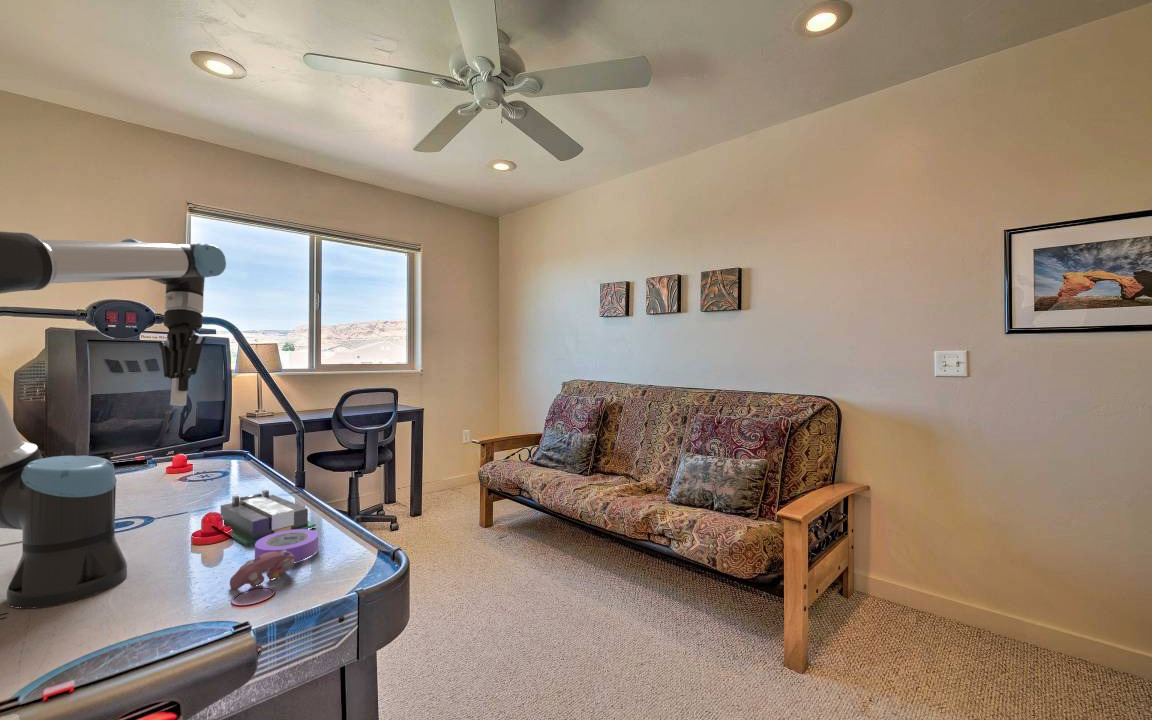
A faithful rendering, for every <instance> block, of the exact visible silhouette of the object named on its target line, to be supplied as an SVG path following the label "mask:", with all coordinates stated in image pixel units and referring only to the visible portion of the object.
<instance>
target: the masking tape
mask: <svg viewBox="0 0 1152 720" xmlns="http://www.w3.org/2000/svg"><path fill="white" fill-rule="evenodd" d="M283 549H285V550H286V551H288V552H290V553H292V554H293V555H294V557H295V562H297V561H300V560H303V559H305V558H307V557H309V556H311V555H313V554H314V553H315V552H316V551H317V550H318V551H319V533H318V532H317V531H316V530H314V529H311V530H308V529H295V530H287V531H281V532H277V533H273V534H270V535H267V536H265V537H263V538H261V539H259V540H258V541H257V542H256V543H255V545H254V559H255V558H257V557H259V556H260V555H262V554H264V553H268V552H280V551H281V550H283Z"/></svg>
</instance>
